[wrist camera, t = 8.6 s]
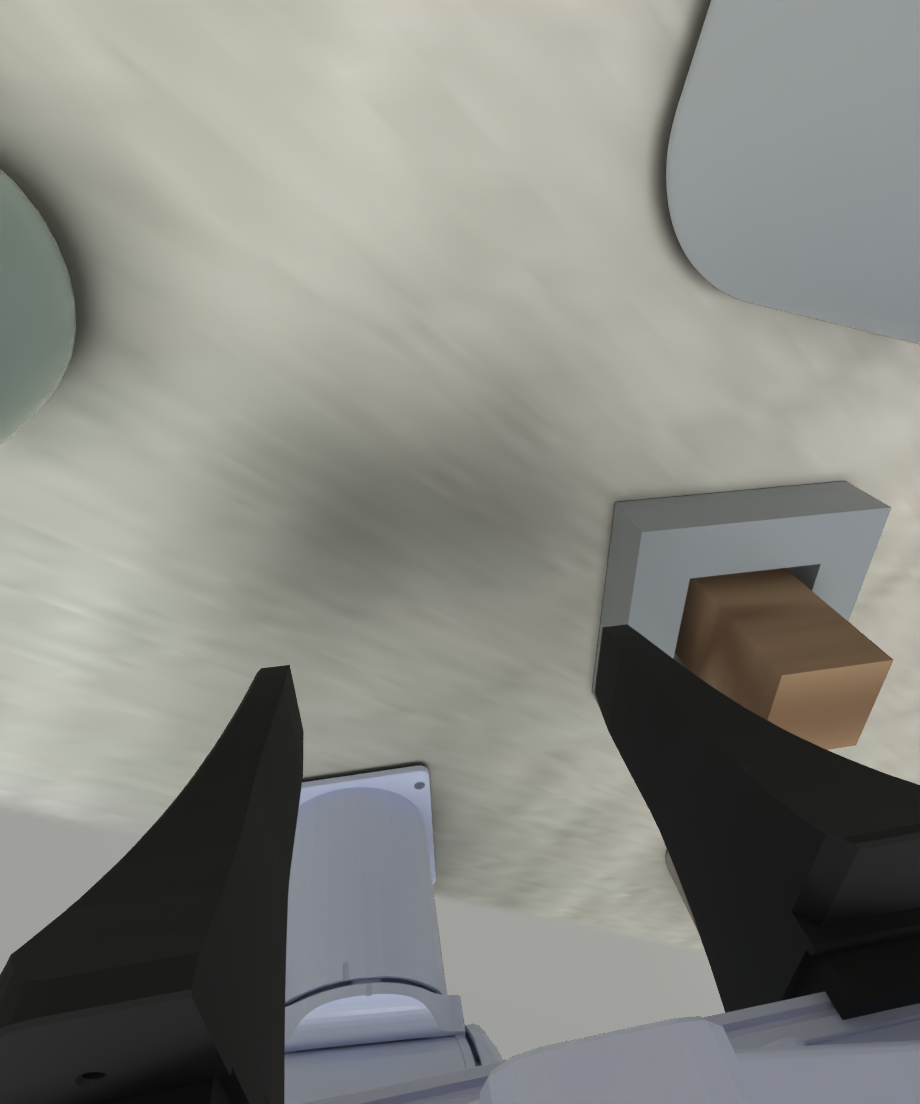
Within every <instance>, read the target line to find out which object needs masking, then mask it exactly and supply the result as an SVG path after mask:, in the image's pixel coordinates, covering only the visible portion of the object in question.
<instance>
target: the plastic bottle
mask: <svg viewBox="0 0 920 1104" xmlns="http://www.w3.org/2000/svg"><path fill="white" fill-rule="evenodd" d="M666 186H667V197H668V206H669V211H670V216H671V220H672V224H673V227H674V230H675V233H676V236H677V238H678V241H679V243H680V245H681V247H682V249H683V251H684V253H685V254H686V256H687V258H688V259H689V261H690V262H691V263H692V265H693V266H694V267H695V269H696V270H697V271H698V272H699V273H700V274H701V275H702V276H703V277H704V278H705V279H706V280H707V281H708V282H710V283H711V284H712V285H713V286H714V287H716V288H717V289H719V290H721V291H722V292H724V293H725V294H728V295H730V296H732V297H734V298H736V299H739V300H742V301H746V302H749V303H753V304H757V305H761V306H765V307H769V308H773V309H777V310H781V311H786V312H790V313H794V314H798V315H802V316H806V317H810V318H814V319H818V320H822V321H826V322H830V323H834V324H838V325H842V326H846V327H851V328H855V329H859V330H863V331H867V332H871V333H875V334H879V335H883V336H887V337H891V338H895V339H899V340H903V341H907V342H911V343H916V344H920V0H711V3H710V6H709V9H708V12H707V15H706V18H705V21H704V25H703V28H702V31H701V34H700V37H699V40H698V44H697V47H696V50H695V53H694V56H693V59H692V62H691V66H690V69H689V72H688V75H687V78H686V81H685V84H684V88H683V91H682V94H681V97H680V100H679V103H678V107H677V110H676V114H675V117H674V121H673V124H672V129H671V134H670V139H669V145H668V153H667V166H666Z"/></svg>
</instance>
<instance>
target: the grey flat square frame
mask: <svg viewBox="0 0 920 1104" xmlns="http://www.w3.org/2000/svg"><path fill="white" fill-rule="evenodd" d="M890 510H891V507H890V506H888V505H886V504H884V503H883V502H881V501H879V500H878V499H876V498H874V497H872V496H871V495H869V494H867V493H865V492H864V491H862V490H860V489H858V488H857V487H855V486H853V485H851V484H850V483H848V482H846V481H840V482H829V483H818V484H808V485H797V486H786V487H775V488H764V489H754V490H743V491H732V492H721V493H710V494H700V495H689V496H678V497H667V498H656V499H645V500H635V501H624V502H615V509H614V517H613V525H612V533H611V541H610V549H609V558H608V566H607V574H606V582H605V590H604V598H603V606H602V614H601V623H600V631H599V639H598V647H597V655H596V663H595V671H594V680H593V688H592V693H593V695H594V697H595V699H596V701H597V698H596V695H595V684H596V676H597V669H598V661H599V653H600V645H601V637H602V629H603V627H609V626H617V625H626V624H628V625H629V626H630V627H632V628H633V629H635V630H636V631H637V632H639V633H640V634H641V635H643V636H644V637H645V638H647V639H648V640H649V641H650V642H652V643H653V644H654V645H656V646H657V647H658V648H660V649H661V650H662V651H664V652H665V653H666V654H668V655H669V656H670V657H671V658H673V659H674V660H676V661H677V662H678V663H680V664H681V665H682V666H684V667H685V665H684V664H683V663H682V661H681V660H680V658H679V657H678V656H677V654H676V653H675V649H676V644H677V639H678V634H679V629H680V624H681V619H682V614H683V610H684V605H685V600H686V595H687V590H688V585H689V580H690V578H699V577H708V576H717V575H726V574H735V573H744V572H753V571H762V570H771V569H780V568H786V569H787V570H788V571H789V572H790V573H791V574H793V575H794V576H795V577H796V578H797V579H799V580H800V581H801V582H802V583H803V584H804V585H806V586H807V587H808V588H809V589H810V590H811V591H813V592H814V593H815V594H816V595H817V596H819V597H820V598H821V599H822V600H823V601H824V602H826V603H827V604H828V605H829V606H830V607H832V608H833V609H834V610H835V611H836V612H837V613H839V614H840V615H841V616H842V617H843V618H845V619H846V620H847V621H849V618H850V616H851V613H852V610H853V608H854V605H855V602H856V600H857V597H858V594H859V592H860V589H861V586H862V584H863V581H864V578H865V576H866V573H867V571H868V568H869V565H870V563H871V560H872V557H873V555H874V552H875V549H876V547H877V544H878V541H879V539H880V536H881V533H882V531H883V528H884V525H885V523H886V520H887V518H888V515H889V512H890ZM685 668H686V667H685ZM686 669H687V668H686ZM597 703H598V701H597ZM598 705H599V704H598Z"/></svg>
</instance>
